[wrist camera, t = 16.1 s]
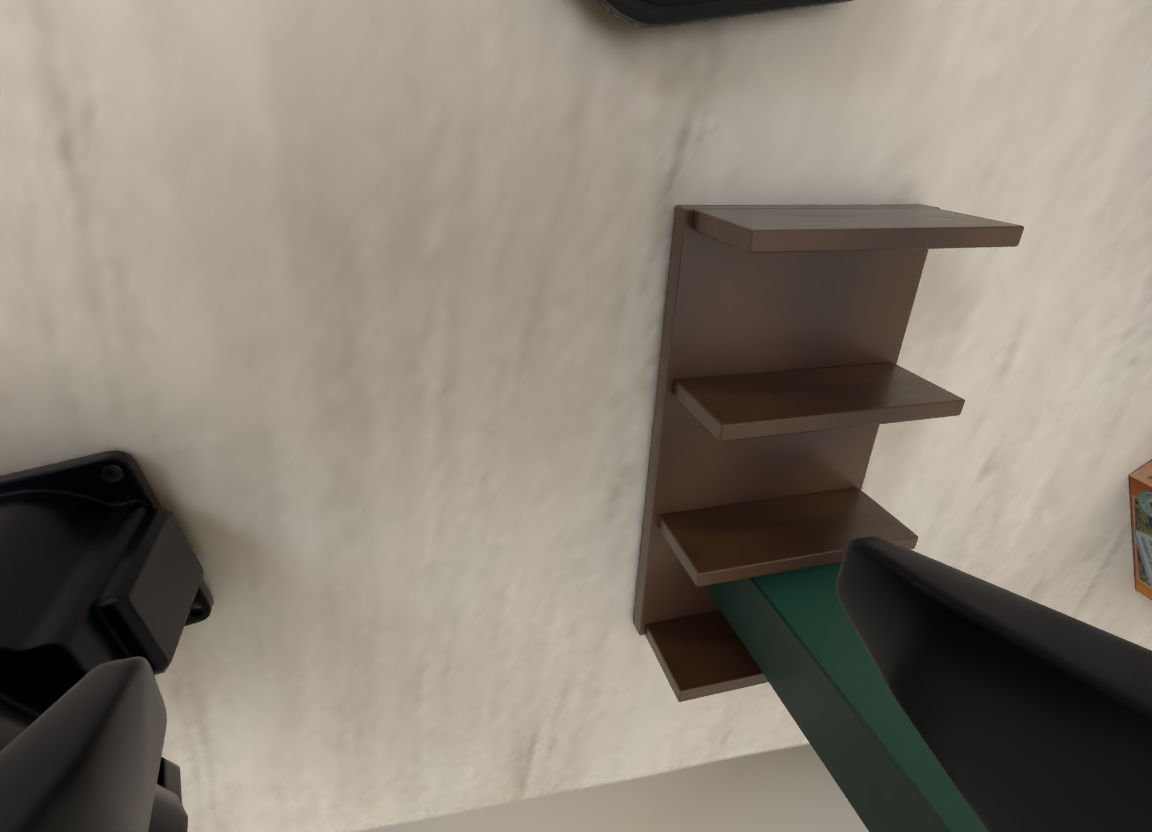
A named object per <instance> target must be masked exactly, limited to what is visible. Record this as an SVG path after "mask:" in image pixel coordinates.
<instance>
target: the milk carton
mask: <svg viewBox="0 0 1152 832" xmlns="http://www.w3.org/2000/svg"><path fill="white" fill-rule="evenodd" d="M1129 484H1130V501H1131V518H1132V536H1133V553H1134V570H1135V587H1136V590H1137V591H1139V592H1140V593H1142V594H1143V595H1145V596H1146V597H1148V598H1149V599H1151V600H1152V460H1151V461H1150V462H1148V463H1147V464H1145V465H1144V466H1142V467H1141V468H1139V469H1138V470H1136V471H1135V472H1133V473H1132V474H1130V475H1129Z"/></svg>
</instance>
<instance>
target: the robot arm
mask: <svg viewBox="0 0 1152 832" xmlns="http://www.w3.org/2000/svg"><path fill="white" fill-rule="evenodd" d="M107 465H115V466H118V467H119V468H120V469H121V470H122V473H115V472H112V471H110V470H109V469H108V468H107ZM203 572H204V571H203V568H202V566H201V564H200V562H199V561H198V559H197V557H196V555H195V553H194V552H193V550H192V548H191V546H190V544H189V543H188V541H187V539H186V537H185V535H184V534H183V532H182V530H181V528H180V526H179V525H178V523H177V521H176V519H175V517H174V516H173V514H172V512H170V511H169V510H167V509H165V508H163V507H161V505H160V503H159V502H158V500H157V498H156V496H155V494H154V493H153V491H152V489H151V487H150V486H149V484H148V482H147V480H146V478H145V477H144V475H143V473H142V471H141V470H140V468H139V466H138V464H137V462H136V461H135V460H134V459H133V457H132V456H130V455H129V454H127V453H125V452H121V451H107V452H103V453H99V454H94V455H90V456H86V457H81V458H77V459H73V460H69V461H64V462H60V463H56V464H51V465H47V466H43V467H39V468H34V469H30V470H26V471H22V472H17V473H13V474H9V475H4V476H0V832H187V827H188V816H187V814H186V812H185V810H184V808H183V806H182V797H181V780H180V768H179V766H178V765H176V764H174V763H172V762H170V761H168V760H167V759H165V758H163V757H161V755H162V749H163V744H164V738H165V732H166V724H167V715H166V708H165V704H164V702H163V699H162V696H161V693H160V691H159V688H158V685H157V682H156V680H155V677H154V675H156V674H160V673H163V672H165V671H166V669H167V668H168V666H169V664H170V663H171V661H172V658H173V656H174V653H175V650H176V647H177V645H178V642H179V639H180V636H181V634H182V631H183V628H184V626H187V625H190V624H194V623H197V622H200V621H203V620H205V619H206V618H207V617H208V616H209V615H210V613H211V610H212V606H213V603H214V601H213V598H212V596H211V594H210V592H209V591H208V589H207V587H206V585H205V583H204V582H203V580H202V575H203ZM835 586H836V594H837V597H838V599H839V602H840V603H841V605H842V607H843V609H844V610H845V612H846V614H847V616H848V617H849V619H850V621H851V623H852V625H853V626H854V628H855V630H856V632H857V633H858V635H859V637H860V639H861V640H862V642H863V644H864V646H865V647H866V649H867V651H868V653H869V654H870V656H871V658H872V660H873V661H874V663H875V665H876V667H877V669H878V670H879V672H880V674H881V676H882V677H883V679H884V681H885V682H886V684H887V686H888V687H889V689H890V691H891V692H892V694H893V696H894V697H895V699H896V700H897V702H898V703H899V705H900V706H901V708H902V709H903V711H904V712H905V714H906V715H907V716H908V718H909V719H910V721H911V722H912V724H913V725H914V727H915V728H916V729H917V731H918V732H919V734H920V735H921V737H922V738H923V740H924V741H925V742H926V744H927V745H928V747H929V748H930V750H931V751H932V753H933V754H934V755H935V757H936V758H937V760H938V761H939V763H940V764H941V766H942V767H943V768H944V770H945V771H946V773H947V774H948V776H949V777H950V779H951V780H952V781H953V783H954V784H955V786H956V787H957V789H958V790H959V792H960V793H961V794H962V796H963V797H964V799H965V800H966V802H967V803H968V805H969V806H970V807H971V809H972V810H973V812H974V813H975V815H976V816H977V818H978V819H979V820H980V822H981V823H982V825H983V826H984V828H985V829H986V831H987V832H1152V651H1151V650H1149V649H1146V648H1144V647H1141V646H1139V645H1137V644H1134V643H1132V642H1129V641H1127V640H1125V639H1122V638H1120V637H1118V636H1115V635H1113V634H1110V633H1108V632H1106V631H1103V630H1101V629H1098V628H1096V627H1094V626H1091V625H1089V624H1086V623H1084V622H1082V621H1079V620H1077V619H1075V618H1072V617H1070V616H1067V615H1065V614H1063V613H1060V612H1058V611H1055V610H1053V609H1051V608H1048V607H1046V606H1044V605H1041V604H1039V603H1036V602H1034V601H1032V600H1029V599H1027V598H1024V597H1022V596H1020V595H1017V594H1015V593H1012V592H1010V591H1008V590H1005V589H1003V588H1001V587H998V586H996V585H993V584H991V583H989V582H986V581H984V580H981V579H979V578H977V577H974V576H972V575H970V574H967V573H965V572H962V571H960V570H958V569H955V568H953V567H950V566H948V565H946V564H943V563H941V562H939V561H936V560H934V559H931V558H929V557H927V556H924V555H922V554H919V553H917V552H915V551H912V550H910V549H907V548H905V547H903V546H900V545H898V544H896V543H893V542H891V541H888V540H886V539H884V538H881V537H877V536H870V537H864V538H858V539H853V540H851V541H850V542H849V543H848V544H847V545H846V548H845V551H844V554H843V558H842V561H841V565H840V568H839V572H838V575H837V579H836V584H835ZM192 605H198V606H200V607H201V608H192V607H191V606H192Z"/></svg>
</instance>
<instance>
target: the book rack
mask: <svg viewBox="0 0 1152 832" xmlns="http://www.w3.org/2000/svg"><path fill="white" fill-rule="evenodd" d="M1023 230H1024V227H1023V226H1021V225H1016V224H1011V223H1006V222H1001V221H996V220H991V219H986V218H981V217H976V216H971V215H966V214H961V213H956V212H951V211H946V210H941V209H939V208H938V207H933V206H928V205H677V206H676V208H675V218H674V227H673V237H672V247H671V257H670V267H669V276H668V286H667V296H666V306H665V316H664V325H663V335H662V345H661V355H660V365H659V374H658V384H657V394H656V404H655V414H654V424H653V433H652V443H651V453H650V463H649V473H648V482H647V492H646V502H645V512H644V522H643V531H642V541H641V551H640V561H639V571H638V580H637V590H636V600H635V610H634V620H633V623H634V625H635V627H636V629H637V631H638V633H639V635H644V634H645V635H646V637H647V639H648V641H649V643H650V645H651V647H652V649H653V651H654V653H655V655H656V657H657V659H658V661H659V663H660V665H661V667H662V669H663V671H664V673H665V675H666V677H667V679H668V681H669V683H670V685H671V687H672V689H673V691H674V693H675V695H676V697H677V699H678V701H679V702H682V701H686V700H691V699H695V698H699V697H704V696H708V695H713V694H717V693H721V692H726V691H730V690H735V689H739V688H744V687H748V686H752V685H757V684H761V683H766V682H769V681H768V680H767V678H766V677H765V675H764V674H763V672H762V671H761V670H760V668H759V667H758V665H757V664H756V662H755V661H754V659H753V658H752V656H751V655H750V653H749V652H748V650H747V649H746V647H745V646H744V644H743V643H742V641H741V640H740V638H739V637H738V635H737V634H736V632H735V631H734V629H733V628H732V626H731V625H730V623H729V622H728V620H727V619H726V617H725V616H724V614H723V613H722V611H721V610H720V608H719V607H718V605H717V604H716V602H715V601H714V599H713V598H712V596H711V595H710V589H711V584H717V583H723V582H728V581H734V580H740V579H745V578H751V577H757V576H762V575H768V574H774V573H779V572H785V571H791V570H797V569H802V568H808V567H814V566H819V565H825V564H831V563H836V562H841V561H842V558H843V554H844V551H845V548H846V545H847V544H848V543H849V542H850V541H851V540H853V539H858V538H864V537H870V536H877V537H881V538H884V539H886V540H888V541H891V542H893V543H896V544H898V545H900V546H903V547H905V548H907V549H914V548H915V546H916V543H917V540H918V536H917V535H916V534H914V533H913V532H912V531H911V530H910V529H908V528H907V527H906V526H905V525H903V524H902V523H901V522H900V521H898V520H897V519H896V518H895V517H894V516H892V515H891V514H890V513H889V512H887V511H886V510H885V509H884V508H882V507H881V506H880V505H879V504H878V503H876V502H875V501H874V500H873V499H871V498H870V497H869V496H868V495H866V494H865V493H864V492H863V491H862V490H861V488H862V484H863V481H864V477H865V473H866V470H867V466H868V463H869V459H870V456H871V452H872V449H873V445H874V441H875V438H876V434H877V431H878V427H879V424H885V423H894V422H903V421H912V420H921V419H930V418H939V417H948V416H957V415H960V414H961V411H962V408H963V405H964V402H965V400H964V399H962V398H960V397H958V396H956V395H954V394H952V393H950V392H949V391H947V390H945V389H943V388H941V387H939V386H937V385H935V384H933V383H931V382H929V381H927V380H925V379H923V378H921V377H919V376H917V375H916V374H914V373H912V372H910V371H908V370H906V369H904V368H902V367H900V366H898V365H896V363H897V359H898V356H899V352H900V349H901V345H902V342H903V338H904V334H905V331H906V327H907V324H908V320H909V317H910V313H911V309H912V306H913V302H914V299H915V295H916V292H917V288H918V285H919V281H920V277H921V274H922V270H923V267H924V263H925V260H926V256H927V252H928V249H935V248H974V247H1014V246H1018V244H1019V242H1020V239H1021V236H1022V233H1023Z"/></svg>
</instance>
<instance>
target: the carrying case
mask: <svg viewBox="0 0 1152 832" xmlns="http://www.w3.org/2000/svg"><path fill="white" fill-rule="evenodd" d="M596 1H597V2H598V3H599V4H600V5H601V6H602V7H603V8H604V9H606V10H607V11H608V12H609V13H610V14H612V15H614V16H615V17H617V18H618V19H620V20H622V21H624V22H627V23H629V24H631V25H634V26H639V27H643V28H658V27H665V26H673V25H680V24H687V23H694V22H702V21H709V20H716V19H723V18H731V17H738V16H745V15H753V14H760V13H767V12H774V11H781V10H789V9H796V8H803V7H810V6H818V5H825V4H832V3H839V2H847V1H852V0H596Z"/></svg>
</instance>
